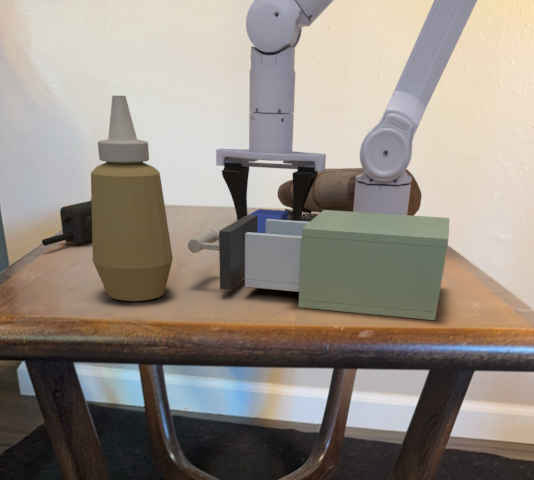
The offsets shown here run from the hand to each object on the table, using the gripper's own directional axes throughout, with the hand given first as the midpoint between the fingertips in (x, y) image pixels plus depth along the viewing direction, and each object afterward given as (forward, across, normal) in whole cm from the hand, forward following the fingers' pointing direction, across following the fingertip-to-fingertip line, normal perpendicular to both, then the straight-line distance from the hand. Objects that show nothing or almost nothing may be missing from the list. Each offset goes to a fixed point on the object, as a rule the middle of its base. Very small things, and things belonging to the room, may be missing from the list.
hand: (268, 225), depth 87 cm
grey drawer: (+2, -6, +22) cm, 23 cm away
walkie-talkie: (0, +24, 0) cm, 24 cm away
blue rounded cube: (+3, 0, 0) cm, 3 cm away
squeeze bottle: (+3, +7, +29) cm, 30 cm away
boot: (-3, -16, -22) cm, 27 cm away
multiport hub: (+3, -5, -10) cm, 12 cm away
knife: (+2, -2, -20) cm, 20 cm away
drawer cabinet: (+3, -17, +22) cm, 28 cm away
